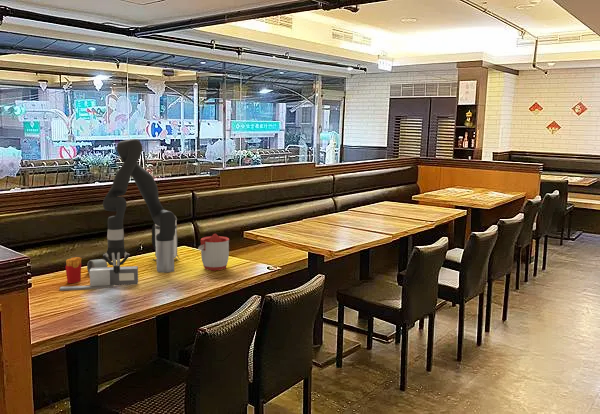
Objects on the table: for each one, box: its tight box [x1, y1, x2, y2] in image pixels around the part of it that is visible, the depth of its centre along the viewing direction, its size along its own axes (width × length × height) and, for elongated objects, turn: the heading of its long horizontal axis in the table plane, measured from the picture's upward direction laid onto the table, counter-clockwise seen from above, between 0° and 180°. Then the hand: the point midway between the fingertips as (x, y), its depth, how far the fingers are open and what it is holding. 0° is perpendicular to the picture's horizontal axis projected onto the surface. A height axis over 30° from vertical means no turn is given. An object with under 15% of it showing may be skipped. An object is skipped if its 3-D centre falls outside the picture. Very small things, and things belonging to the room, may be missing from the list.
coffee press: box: [151, 215, 180, 261], centre depth 314 cm, size 17×16×30 cm
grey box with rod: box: [59, 265, 139, 292], centre depth 261 cm, size 35×10×8 cm, turn 103°
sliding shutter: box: [89, 269, 110, 286], centre depth 258 cm, size 9×1×8 cm, turn 103°
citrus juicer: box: [197, 233, 230, 272], centre depth 296 cm, size 16×17×20 cm
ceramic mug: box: [86, 258, 108, 275], centre depth 285 cm, size 11×8×8 cm
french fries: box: [65, 256, 82, 284], centre depth 268 cm, size 8×4×12 cm, turn 152°
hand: (116, 273), depth 259 cm, fingers closed
